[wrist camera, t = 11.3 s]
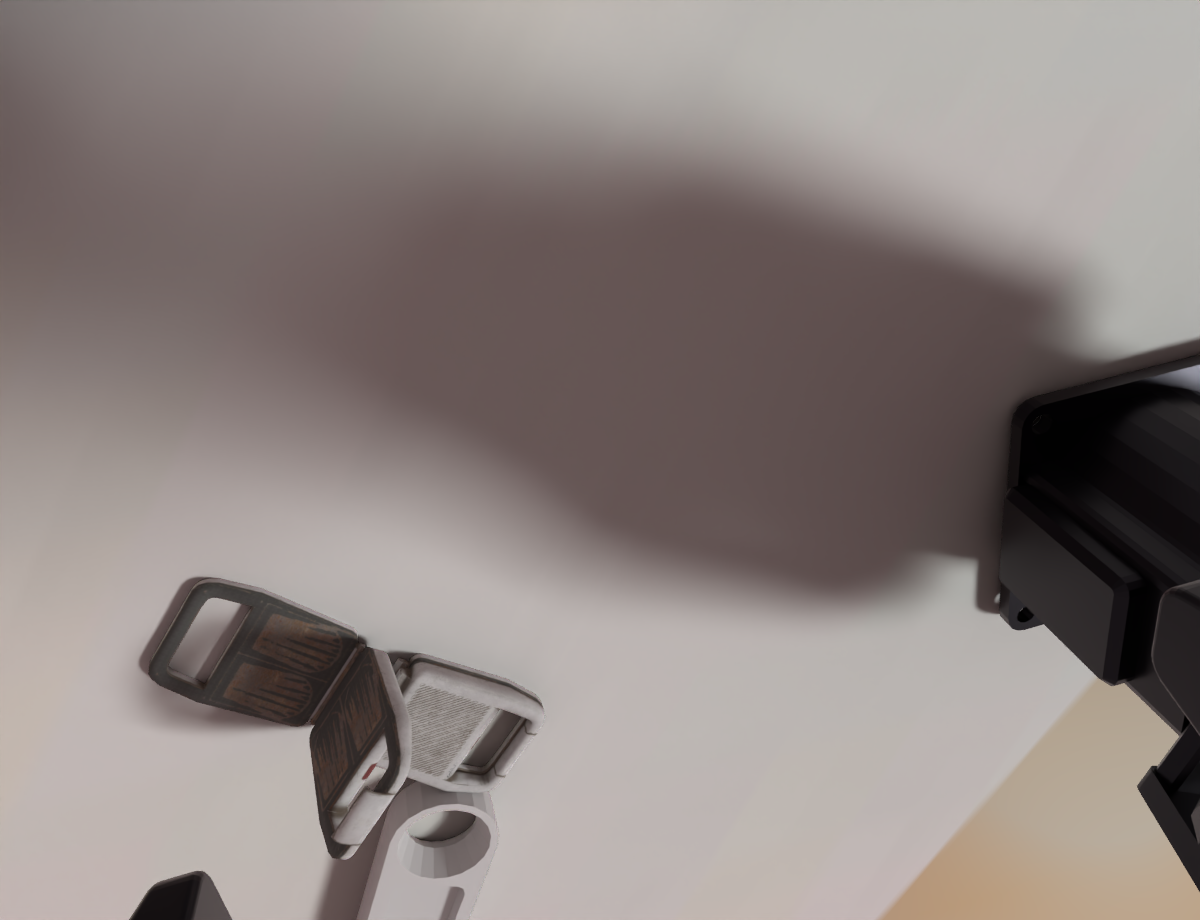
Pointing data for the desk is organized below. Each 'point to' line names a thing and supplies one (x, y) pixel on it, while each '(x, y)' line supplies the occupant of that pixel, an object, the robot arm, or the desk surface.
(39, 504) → the desk surface
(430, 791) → the adjustable wrench
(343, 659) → the strap clip
